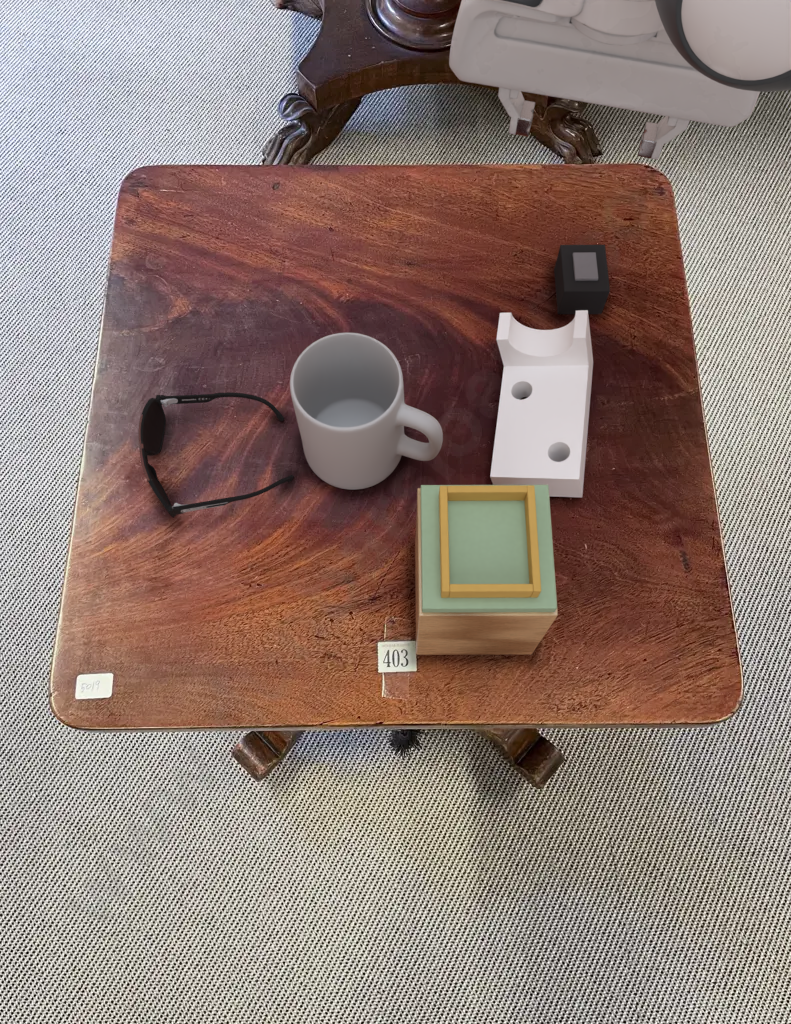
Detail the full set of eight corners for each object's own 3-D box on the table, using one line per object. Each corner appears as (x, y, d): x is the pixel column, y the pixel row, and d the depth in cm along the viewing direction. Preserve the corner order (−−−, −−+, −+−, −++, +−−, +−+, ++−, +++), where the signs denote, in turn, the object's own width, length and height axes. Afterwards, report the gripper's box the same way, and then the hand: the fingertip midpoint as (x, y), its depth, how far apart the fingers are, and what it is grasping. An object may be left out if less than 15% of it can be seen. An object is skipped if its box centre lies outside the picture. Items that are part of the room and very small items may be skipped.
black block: (596, 268, 80) (605, 242, 76) (601, 314, 78) (611, 289, 74) (553, 269, 80) (560, 242, 76) (557, 314, 78) (564, 289, 74)
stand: (525, 545, 70) (548, 487, 59) (531, 654, 67) (558, 615, 55) (414, 545, 70) (417, 487, 59) (416, 654, 67) (418, 615, 56)
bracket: (512, 362, 77) (499, 312, 71) (593, 361, 75) (587, 310, 68) (496, 494, 73) (481, 454, 66) (582, 497, 70) (575, 456, 64)
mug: (287, 471, 72) (269, 409, 62) (327, 388, 75) (315, 316, 65) (420, 519, 71) (424, 463, 61) (456, 432, 74) (464, 365, 63)
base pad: (546, 490, 59) (552, 475, 56) (554, 612, 56) (561, 602, 53) (420, 490, 59) (421, 475, 56) (422, 612, 56) (422, 602, 53)
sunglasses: (142, 418, 74) (133, 388, 70) (280, 403, 76) (280, 373, 72) (153, 531, 70) (144, 507, 66) (298, 511, 73) (299, 487, 68)
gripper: (816, -53, 50) (731, 132, 63) (471, -105, 52) (458, 85, 65) (809, 24, 48) (723, 199, 60) (448, -34, 50) (439, 148, 62)
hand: (583, 140), depth 63 cm, fingers open, 8 cm apart
